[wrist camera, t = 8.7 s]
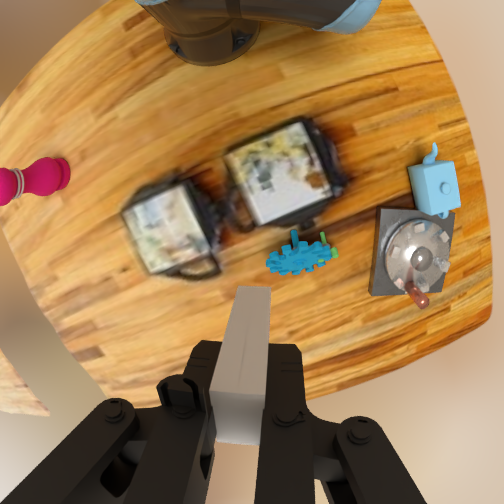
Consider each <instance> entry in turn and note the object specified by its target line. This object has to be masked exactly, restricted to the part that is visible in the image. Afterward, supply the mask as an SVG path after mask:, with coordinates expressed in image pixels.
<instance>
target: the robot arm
mask: <svg viewBox="0 0 504 504" xmlns="http://www.w3.org/2000/svg"><path fill="white" fill-rule="evenodd" d="M135 2H136V3H138V4H140V5H141V6H142V7H143V8H144V9H145V10H146V11H147V12H149V13H150V14H151V15H152V16H153V17H154V18H155V19H156V20H157V21H158V22H160V23H161V24H162V25H163V26H164V33H165V39H166V42H167V44H168V46H169V47H170V49H171V50H172V51H173V52H174V53H175V54H176V55H177V56H178V57H179V58H181V59H182V60H184V61H186V62H188V63H191V64H194V65H199V66H214V65H220V64H224V63H227V62H229V61H232V60H234V59H236V58H238V57H239V56H241V55H242V54H244V53H245V52H246V51H247V50H248V49H249V48H250V47H251V46H252V45H253V43H254V42H255V40H256V38H257V36H258V34H259V30H260V21H268V22H277V23H284V24H291V25H297V26H303V27H309V28H312V29H313V30H315V31H328V32H334V33H338V34H346V35H347V34H351V33H356V32H358V31H360V30H361V29H362V28H363V27H365V26H366V25H367V23H368V22H369V21H370V20H371V18H372V17H373V15H374V14H375V12H376V10H377V9H378V7H379V5H380V3H381V0H135ZM270 303H271V287H257V286H238V289H237V292H236V296H235V299H234V303H233V307H232V310H231V314H230V317H229V321H228V324H227V328H226V332H225V335H224V339H223V342H219V341H207V340H201V341H200V342H199V343H198V344H197V345H196V346H195V347H194V348H193V350H192V352H191V355H190V359H189V360H188V362H187V366H186V367H185V370H184V372H183V374H176V375H172V376H169V377H166V378H165V379H163V380H161V381H160V382H159V384H158V385H157V386H156V388H157V391H158V395H159V398H160V401H161V404H162V405H161V406H158V407H153V408H136V409H134V407H133V405H132V404H131V403H130V402H128V401H127V400H125V399H121V398H111V399H108V400H105V401H103V402H102V403H100V404H99V405H98V406H97V407H96V408H95V409H94V410H93V411H92V412H91V413H90V414H89V415H88V416H87V417H86V418H85V419H84V420H83V421H82V422H81V423H80V424H79V425H78V426H77V427H76V428H75V429H74V430H73V431H72V432H71V433H70V434H69V435H68V436H67V437H66V438H65V439H64V440H63V441H62V442H61V443H60V444H59V445H58V446H57V447H56V448H55V449H54V450H53V451H52V452H51V453H50V454H49V455H48V456H47V457H46V458H45V459H44V460H43V461H42V462H41V463H40V464H39V465H38V466H37V467H36V468H35V469H34V470H33V471H32V472H31V473H30V474H29V475H28V476H27V477H26V478H25V479H24V480H23V481H22V482H21V483H20V484H19V485H18V486H17V487H16V488H15V489H14V490H13V491H12V492H11V493H10V494H9V495H8V496H7V497H6V498H5V499H4V500H3V501H2V502H1V503H0V504H205V500H206V496H207V491H208V486H209V481H210V475H211V471H212V466H213V461H214V457H215V453H214V452H215V451H214V443H215V438H217V442H224V443H234V444H246V445H260V446H259V457H258V468H257V479H256V489H255V500H254V504H315V485H314V479H318V480H320V481H321V484H322V486H323V489H324V492H325V494H326V497H327V499H328V502H329V504H427V503H426V502H425V500H424V498H423V496H422V495H421V493H420V491H419V490H418V488H417V486H416V484H415V483H414V481H413V479H412V478H411V476H410V474H409V473H408V471H407V469H406V468H405V466H404V464H403V463H402V461H401V459H400V458H399V456H398V454H397V453H396V451H395V449H394V448H393V446H392V444H391V443H390V441H389V440H388V438H387V436H386V435H385V433H384V431H383V430H382V428H381V427H380V426H379V425H378V423H377V422H376V421H374V420H372V419H370V418H368V417H363V416H355V417H350V418H348V419H346V420H344V421H343V422H342V423H341V424H339V423H333V422H329V421H325V420H322V419H319V418H317V417H316V416H314V415H313V414H312V413H311V412H310V411H309V409H308V408H307V405H306V399H305V387H304V375H303V364H302V354H301V352H300V350H299V349H298V347H297V346H296V345H295V344H271V343H269V329H270Z"/></svg>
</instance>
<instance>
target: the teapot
mask: <svg viewBox="0 0 504 504" xmlns="http://www.w3.org/2000/svg"><path fill="white" fill-rule="evenodd" d="M437 153H438V148H437V145H436V143H435V142H434V143H433V148H432V151H431V153H429V154H428V155H426V156H425V157H424V159H423V163H422V164H418V165H414V166H410V167H407V168H408V172H409V176H410V181H411V185H412V190H413V195H414V200H415V205H416V209H417V210H419V211H421V212H424V213H426V214H428V215H431V216H432V215H435V214H438V216H439V217H440V218H441V219H445V218H447V217H448V214H449V210H451V209H454V208H457V207H460V206H461V203H460V196H459V189H458V183H457V177H456V172H455V167H454V163H453V161H444V160H435V157H436V156H437Z"/></svg>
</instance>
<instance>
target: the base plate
mask: <svg viewBox="0 0 504 504" xmlns="http://www.w3.org/2000/svg"><path fill="white" fill-rule="evenodd" d="M415 219H425V220H429V221H431V222H433V223H435V224H437V225H438V226H440V227H441V228H442V229H443V230H445V232H446V233H447V235H448V236H449V239H448V242H449V253H450V247H451V241H452V234H453V227H454V219H455V213H454V212H452V211H449V214H448V217H447V218H445V219H441V218H440V217H439V216H438V214H435V215H432V216H431V215H428V214H426V213H424V212H421V211H419V210H417V209H416V208H401V207H379V206H377V214H376V228H375V239H374V249H373V258H372V267H371V275H370V282H369V289H368V291H369V293H370V295H371V296H384V295H404V294H408V293H407V292H406V291H403V290H401V289H399V288H398V287H397V286H396V285H395V284H394V283H393V282H392V280H391V279H390V278H389V276H388V274H387V272H386V268H385V251H386V248H387V245H388V242H389V240H390V239H391V237H392V235H393V234H394V233H395V231H396V230H397V229H398V228H399V227H401V226H402V225H403V224H405V223H407V222H409V221H411V220H415ZM445 274H446V272H443V274H442V275H441V277H440V278H439V279H438V280H437V281H436V282H435V283H434V284H433V285H432V286H430V287H429V291H428V292H425V293H436V292H441V291H442V287H443V283H444V278H445Z"/></svg>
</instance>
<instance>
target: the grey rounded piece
mask: <svg viewBox="0 0 504 504" xmlns="http://www.w3.org/2000/svg"><path fill="white" fill-rule="evenodd" d="M448 239H449V236H448V235H447V233H446V232H445V230H443V229H442V228H441V227H440V226H438V225H437V224H435V223H433V222H431V221H429V220H425V219H415V220H411V221H409V222H407V223H405V224H403V225H402V226H401V227H399V228H398V229H397V230H396V231H395V233H394V234H393V235H392V237H391V239H390V240H389V242H388V245H387V248H386V251H385V268H386V272H387V274H388V276H389V278H390V279H391V280H392V282H393V283H394V284H395V285H396V286H397V287H398V288H399V289H401V290H403V291H406V292H407V293H408V294H409V296H410V297H411V298H412V299H413V301H414V302H415V303H416V304H417V305H418V307H419V308H420V309H425V308H426V307H427V306H428V305H429V299H428V298H427V296H426V295H425V294H424V293H425V292H428V291H429V287H430V286H432V285H433V284H434V283H435V282H436V281H437V280H438V279H439V278H440V277H441V275H442V274H443V272H447V271H448V269H449V266H450V264H451V263H450V262H449V261H448V259H449V242H448Z"/></svg>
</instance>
